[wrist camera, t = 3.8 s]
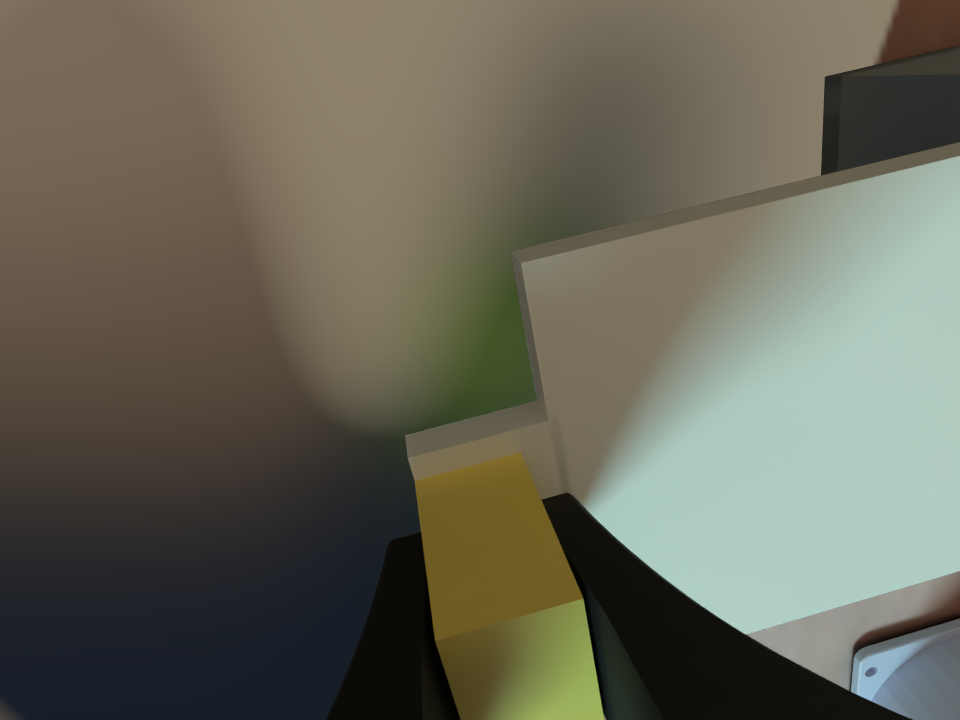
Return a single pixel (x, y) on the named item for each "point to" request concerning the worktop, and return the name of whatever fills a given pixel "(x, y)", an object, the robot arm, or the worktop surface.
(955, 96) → the tub
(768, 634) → the worktop surface
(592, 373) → the lid
